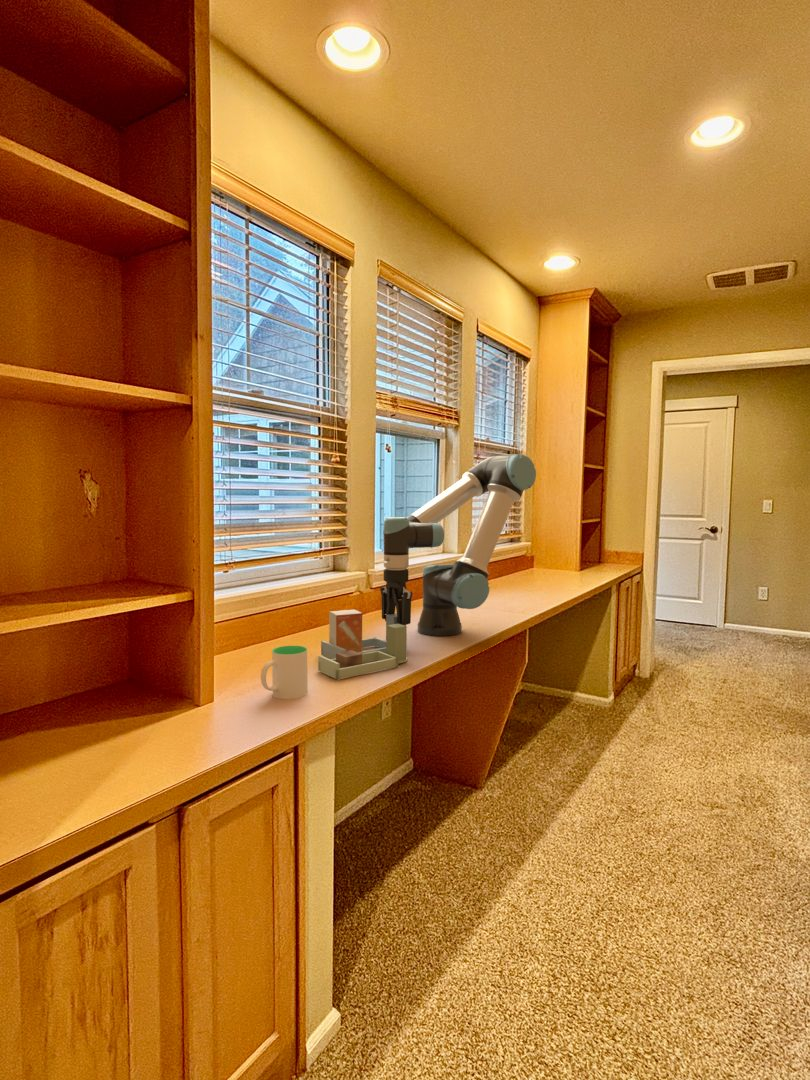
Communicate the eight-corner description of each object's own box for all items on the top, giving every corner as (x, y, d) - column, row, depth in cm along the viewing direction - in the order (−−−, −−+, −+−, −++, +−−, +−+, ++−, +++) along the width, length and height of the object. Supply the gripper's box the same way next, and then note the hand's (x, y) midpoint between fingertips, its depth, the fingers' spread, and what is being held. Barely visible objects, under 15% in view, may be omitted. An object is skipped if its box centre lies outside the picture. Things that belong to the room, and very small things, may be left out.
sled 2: (392, 656, 172) (392, 621, 171) (412, 663, 164) (413, 627, 163) (318, 670, 157) (318, 633, 157) (336, 679, 150) (336, 640, 149)
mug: (276, 706, 131) (275, 660, 131) (252, 699, 136) (251, 654, 135) (314, 692, 141) (314, 648, 140) (290, 685, 146) (290, 643, 145)
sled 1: (388, 642, 188) (388, 611, 187) (413, 650, 178) (413, 617, 177) (321, 654, 173) (321, 620, 172) (343, 664, 163) (343, 628, 162)
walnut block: (352, 668, 161) (351, 650, 161) (362, 672, 157) (362, 654, 157) (335, 671, 158) (335, 653, 158) (345, 676, 154) (345, 657, 154)
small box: (336, 660, 168) (335, 615, 167) (328, 655, 174) (328, 611, 173) (362, 657, 171) (362, 612, 170) (355, 652, 177) (354, 608, 176)
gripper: (369, 566, 184) (369, 641, 186) (403, 572, 171) (402, 652, 172) (389, 564, 189) (389, 637, 190) (423, 570, 175) (423, 648, 177)
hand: (395, 644), depth 181 cm, fingers closed on sled 1, 4 cm apart
